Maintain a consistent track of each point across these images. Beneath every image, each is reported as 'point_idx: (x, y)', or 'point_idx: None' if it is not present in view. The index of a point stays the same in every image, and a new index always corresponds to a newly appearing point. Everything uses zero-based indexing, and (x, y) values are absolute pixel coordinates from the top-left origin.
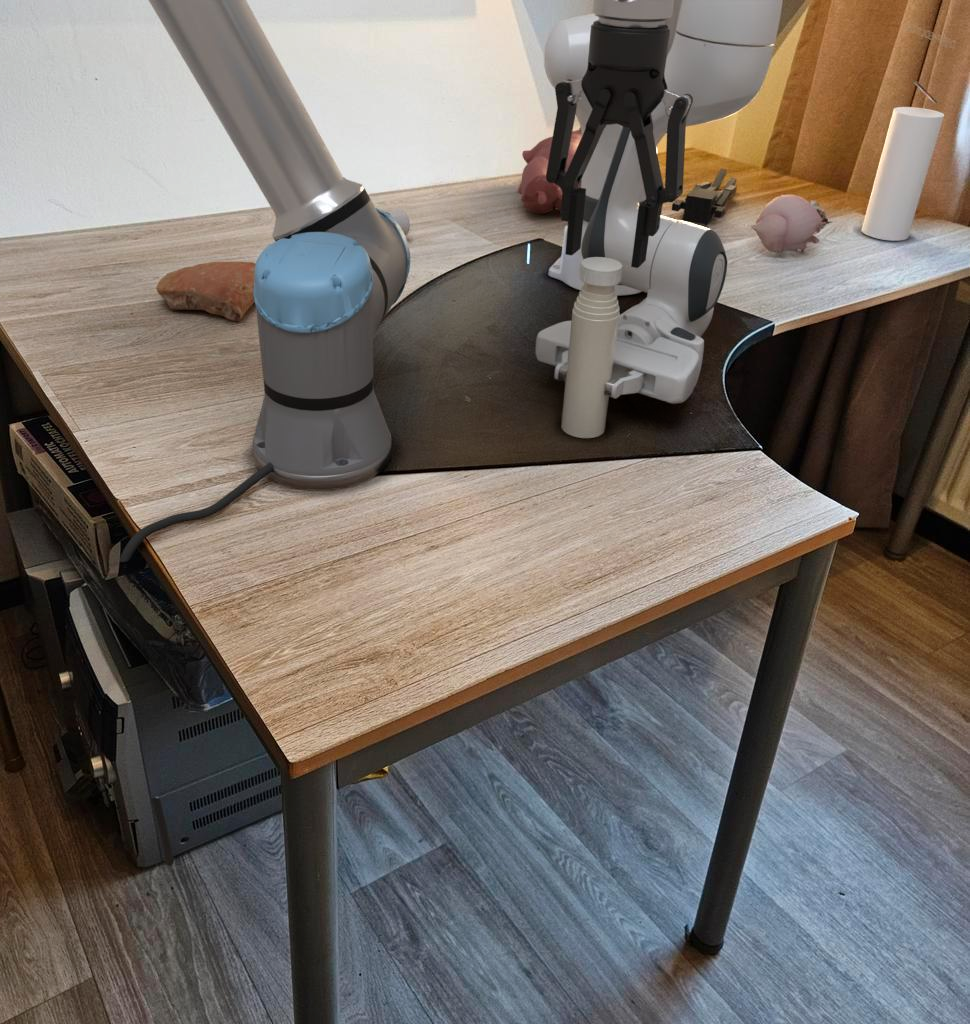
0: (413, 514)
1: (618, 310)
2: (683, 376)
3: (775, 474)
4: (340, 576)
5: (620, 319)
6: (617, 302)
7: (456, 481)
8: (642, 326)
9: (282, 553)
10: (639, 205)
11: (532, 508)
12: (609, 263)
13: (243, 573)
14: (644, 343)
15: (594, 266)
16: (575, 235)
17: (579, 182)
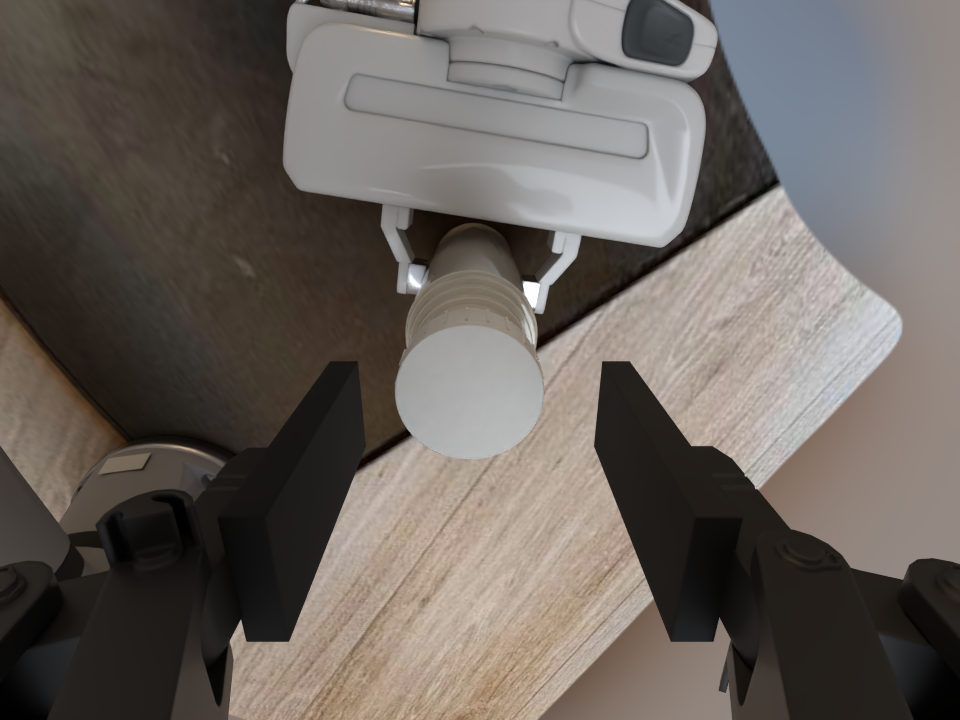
0: (371, 565)
1: (536, 339)
2: (677, 232)
3: (816, 250)
4: (370, 666)
5: (463, 31)
6: (528, 333)
7: (376, 489)
8: (535, 45)
9: (298, 663)
10: (674, 639)
11: (492, 497)
12: (492, 377)
13: (290, 694)
14: (553, 98)
15: (456, 430)
16: (347, 468)
17: (205, 566)
